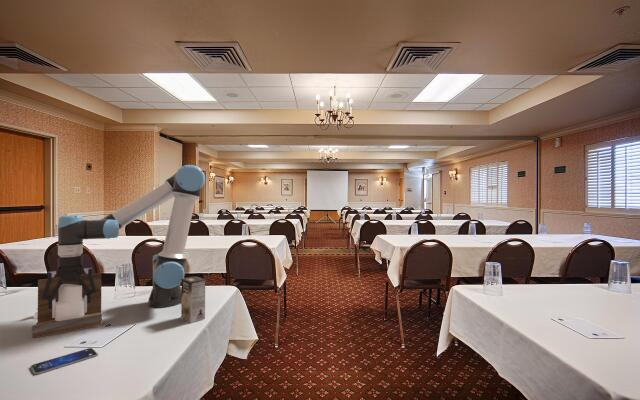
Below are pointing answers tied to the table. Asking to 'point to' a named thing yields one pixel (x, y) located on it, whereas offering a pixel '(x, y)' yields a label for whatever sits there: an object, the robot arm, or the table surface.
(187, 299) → the coffee box
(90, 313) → the wooden arch stand
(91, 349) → the smartphone
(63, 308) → the white stepped block
